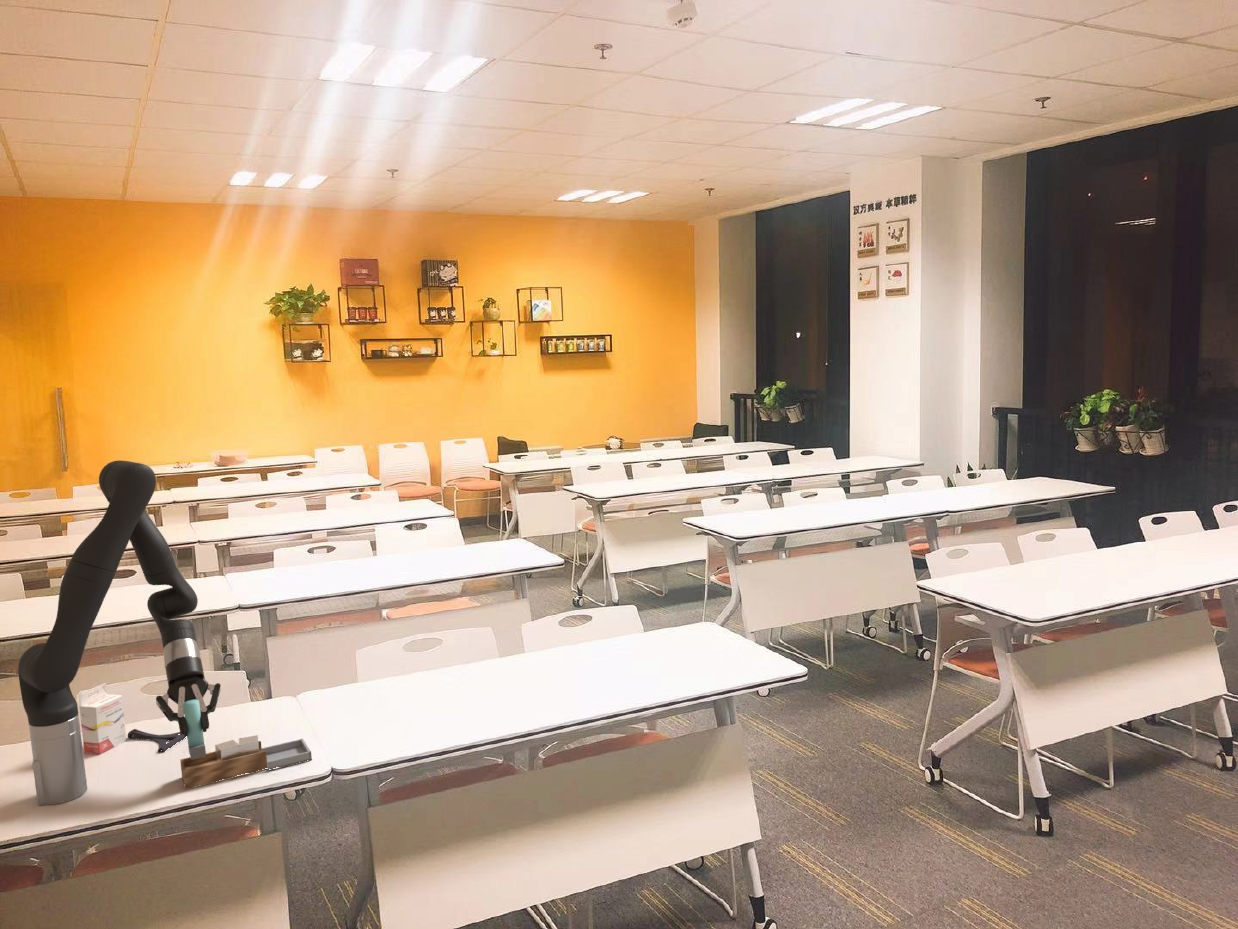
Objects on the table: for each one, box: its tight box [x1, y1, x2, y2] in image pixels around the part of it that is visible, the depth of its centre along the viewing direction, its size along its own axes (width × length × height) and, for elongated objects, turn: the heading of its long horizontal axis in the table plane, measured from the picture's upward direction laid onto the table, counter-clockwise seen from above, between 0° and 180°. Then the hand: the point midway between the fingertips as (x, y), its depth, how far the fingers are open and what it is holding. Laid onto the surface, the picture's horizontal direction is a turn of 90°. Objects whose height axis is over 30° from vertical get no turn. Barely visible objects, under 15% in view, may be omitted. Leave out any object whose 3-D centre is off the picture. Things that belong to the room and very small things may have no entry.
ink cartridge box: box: [78, 682, 127, 755], centre depth 230 cm, size 9×5×15 cm, turn 164°
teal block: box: [183, 700, 207, 760], centre depth 209 cm, size 3×5×12 cm, turn 30°
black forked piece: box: [127, 728, 186, 753], centre depth 234 cm, size 14×15×3 cm
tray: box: [261, 738, 313, 771], centre depth 219 cm, size 10×9×2 cm
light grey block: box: [214, 739, 240, 762], centre depth 213 cm, size 4×4×4 cm
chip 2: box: [238, 734, 259, 757], centre depth 215 cm, size 4×4×4 cm
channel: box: [179, 740, 268, 790], centre depth 213 cm, size 17×7×4 cm, turn 120°
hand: (195, 732), depth 207 cm, fingers closed on teal block, 3 cm apart
